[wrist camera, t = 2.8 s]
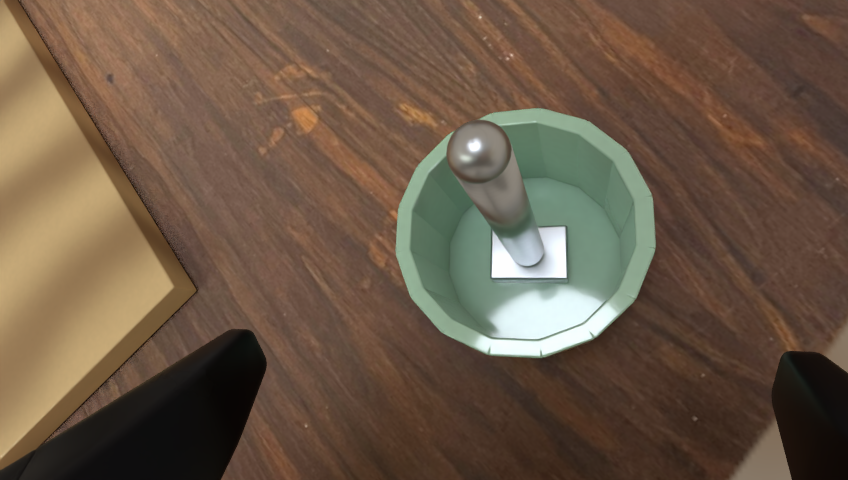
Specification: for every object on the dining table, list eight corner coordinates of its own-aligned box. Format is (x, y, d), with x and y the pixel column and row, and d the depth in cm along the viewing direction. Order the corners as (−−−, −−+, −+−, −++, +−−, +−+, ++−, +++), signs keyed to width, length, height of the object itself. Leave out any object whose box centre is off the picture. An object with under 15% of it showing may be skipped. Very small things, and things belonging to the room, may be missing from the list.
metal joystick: (568, 231, 18) (555, 77, 8) (569, 283, 18) (557, 190, 8) (494, 232, 19) (399, 95, 9) (494, 282, 19) (392, 198, 8)
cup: (638, 360, 17) (663, 364, 12) (438, 351, 19) (389, 350, 14) (628, 165, 19) (647, 95, 14) (445, 177, 21) (402, 121, 16)
